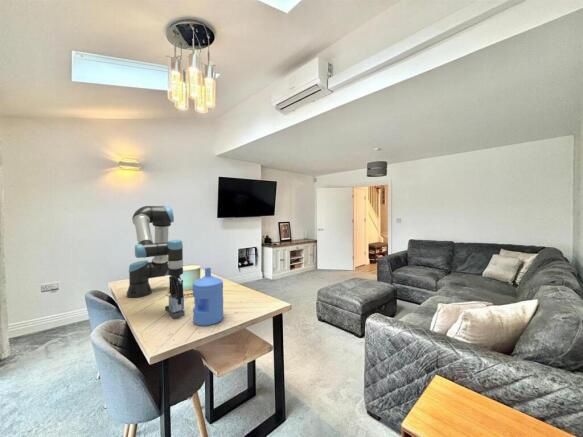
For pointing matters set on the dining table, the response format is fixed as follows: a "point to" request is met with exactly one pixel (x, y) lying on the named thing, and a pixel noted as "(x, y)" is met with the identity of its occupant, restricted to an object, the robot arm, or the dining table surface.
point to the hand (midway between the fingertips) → (176, 308)
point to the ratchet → (175, 313)
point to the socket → (174, 303)
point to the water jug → (208, 300)
